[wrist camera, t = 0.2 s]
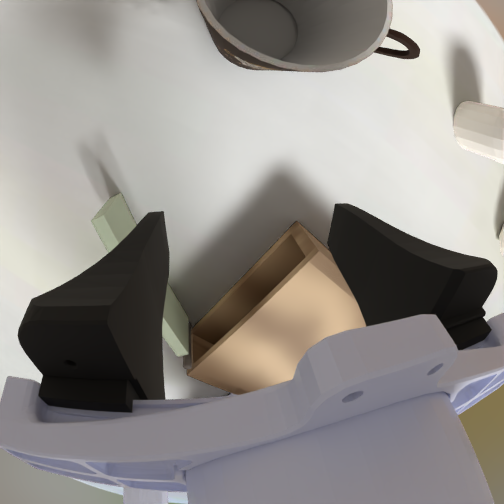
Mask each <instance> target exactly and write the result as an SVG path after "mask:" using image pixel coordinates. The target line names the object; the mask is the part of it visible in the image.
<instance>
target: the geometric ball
mask: <svg viewBox="0 0 504 504" xmlns="http://www.w3.org/2000/svg"><path fill="white" fill-rule="evenodd" d="M499 241H500V250H501V253H502V255H503V256H504V223H503V226H502V229H501V232H500V235H499Z"/></svg>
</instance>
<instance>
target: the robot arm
mask: <svg viewBox="0 0 504 504" xmlns="http://www.w3.org/2000/svg"><path fill="white" fill-rule="evenodd" d="M327 243H328V246H329V248H330V251H331V254H332V256H333V259H334V261H335V263H336V265H337V267H338V268H339V270H340V272H341V274H342V276H343V277H344V279H345V281H346V283H347V285H348V286H349V288H350V290H351V292H352V294H353V295H354V297H355V299H356V301H357V303H358V305H359V308H360V310H361V313H362V316H363V318H364V321H365V324H366V327H362V328H356V329H351V330H346V331H343V332H340V333H337V334H334V335H331V336H328V337H325V338H324V339H322V340H321V341H319V342H318V343H316V344H315V345H313V346H312V347H310V348H309V349H308V350H307V352H306V353H305V354H304V356H303V357H302V359H301V360H300V361H299V363H298V364H297V367H296V370H295V374H294V377H293V379H292V380H289V381H285V382H282V383H279V384H276V385H273V386H269V387H266V388H263V389H259V390H256V391H252V392H249V393H245V394H241V395H236V394H233V393H231V394H230V395H228V396H221V397H209V398H194V399H172V400H165V390H164V375H163V353H162V322H163V312H164V305H165V297H166V290H167V283H168V276H169V248H168V241H167V234H166V227H165V219H164V211H161V212H149V213H148V214H147V215H146V216H145V217H144V218H143V219H142V220H141V221H140V222H139V223H138V224H137V226H136V227H135V228H134V229H133V230H132V231H131V232H130V233H129V234H128V235H127V236H126V237H125V238H124V239H123V240H122V241H121V242H120V243H119V244H118V245H117V246H116V247H115V248H114V249H113V250H112V251H110V252H109V253H108V254H107V255H106V256H105V257H103V258H102V259H101V260H100V261H98V262H97V263H96V264H94V265H93V266H91V267H90V268H88V269H87V270H85V271H84V272H83V273H81V274H80V275H78V276H77V277H75V278H73V279H71V280H70V281H68V282H66V283H64V284H63V285H61V286H59V287H57V288H55V289H53V290H51V291H49V292H46V293H44V294H42V295H40V296H38V297H35V298H33V299H32V300H31V302H30V304H29V306H28V308H27V311H26V313H25V315H24V318H23V320H22V322H21V325H20V327H19V330H18V339H19V342H20V345H21V346H22V348H23V350H24V351H25V353H26V354H27V356H28V357H29V358H30V360H31V361H32V362H33V363H34V365H35V366H36V367H37V368H38V370H39V371H40V372H41V373H42V374H43V378H42V382H41V384H40V383H38V382H36V381H34V380H31V379H25V378H18V377H12V376H8V377H7V380H6V383H5V387H4V390H3V394H2V398H1V402H0V448H2V449H3V450H5V451H6V452H8V453H10V454H11V455H13V456H14V457H16V458H18V459H20V460H21V461H23V462H25V463H27V464H29V465H30V466H32V467H34V468H36V469H39V470H44V471H47V472H51V473H55V474H59V475H63V476H67V477H71V478H76V479H80V480H85V481H90V482H95V483H100V484H106V485H112V486H118V487H125V488H133V489H142V490H152V491H167V492H187V496H188V504H495V503H494V500H493V498H492V495H491V492H490V489H489V486H488V484H487V481H486V479H485V476H484V473H483V471H482V468H481V466H480V464H479V461H478V459H477V456H476V454H475V452H474V449H473V447H472V445H471V443H470V441H469V438H468V436H467V434H466V432H465V430H464V428H463V425H462V423H461V421H460V419H459V417H458V415H459V414H460V413H462V412H464V411H465V410H467V409H468V408H470V407H471V406H473V405H474V404H476V403H477V402H479V401H480V400H482V399H483V398H485V397H486V396H487V395H489V394H490V393H492V392H493V391H495V390H496V389H498V388H499V387H500V386H501V385H502V384H503V383H504V313H501V314H499V315H497V316H494V317H492V318H491V319H489V320H488V321H487V322H486V321H485V319H484V318H483V316H485V314H486V312H485V310H484V309H483V308H482V306H483V304H484V303H485V301H486V300H487V298H488V296H489V295H490V293H491V291H492V289H493V287H494V285H495V283H496V280H497V269H496V267H495V266H494V265H493V264H492V263H491V262H490V261H489V260H487V259H484V258H479V257H474V256H469V255H465V254H461V253H457V252H454V251H450V250H447V249H444V248H441V247H438V246H435V245H432V244H430V243H427V242H425V241H422V240H420V239H418V238H415V237H413V236H411V235H409V234H407V233H405V232H403V231H401V230H399V229H397V228H395V227H393V226H391V225H389V224H387V223H385V222H384V221H382V220H380V219H378V218H376V217H374V216H373V215H371V214H369V213H367V212H365V211H363V210H361V209H359V208H357V207H355V206H353V205H350V204H335V207H334V213H333V218H332V223H331V228H330V233H329V238H328V242H327Z"/></svg>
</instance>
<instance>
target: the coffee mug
mask: <svg viewBox="0 0 504 504" xmlns="http://www.w3.org/2000/svg"><path fill="white" fill-rule="evenodd" d="M196 1H197V4H198V7H199V9H200V11H201V13H202V16H203V18H204V20H205V22H206V25H207V27H208V29H209V32H210V34H211V36H212V39H213V41H214V43H215V45H216V47H217V49H218V50H219V52H220V53H221V54H222V55H223V56H224V57H225V58H226V59H227V60H229V61H230V62H231V63H233V64H235V65H237V66H239V67H243V68H246V69H251V70H278V71H300V72H326V71H333V70H341V69H343V68H346V67H349V66H352V65H355V64H357V63H359V62H361V61H362V60H364V59H365V58H367V57H369V56H370V55H371V54H372V53H373V52H374V53H379V54H383V55H387V56H392V57H396V58H401V59H414V58H417V57H419V54H420V49H419V47H418V45H417V44H416V43H415V42H414V41H413V40H411V39H410V38H409V37H407V36H406V35H404V34H403V33H401V32H398V31H395V30H392V29H389V28H390V24H391V21H392V9H393V4H392V0H196ZM386 36H387V37H389V38H391V39H394V40H396V41H398V42H400V43H402V44H403V45H405V46H406V47H407V48H408V50H407V51H400V50H393V49H389V48H382V47H379V46H380V45H381V44H382V42H383V40H384V39H385V37H386Z"/></svg>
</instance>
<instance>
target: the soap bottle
mask: <svg viewBox="0 0 504 504" xmlns="http://www.w3.org/2000/svg"><path fill="white" fill-rule="evenodd" d="M123 496H124V497H123V501H124V502H123V504H168V492H167V491H152V490H142V489H133V488H125V487H124V493H123Z"/></svg>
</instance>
